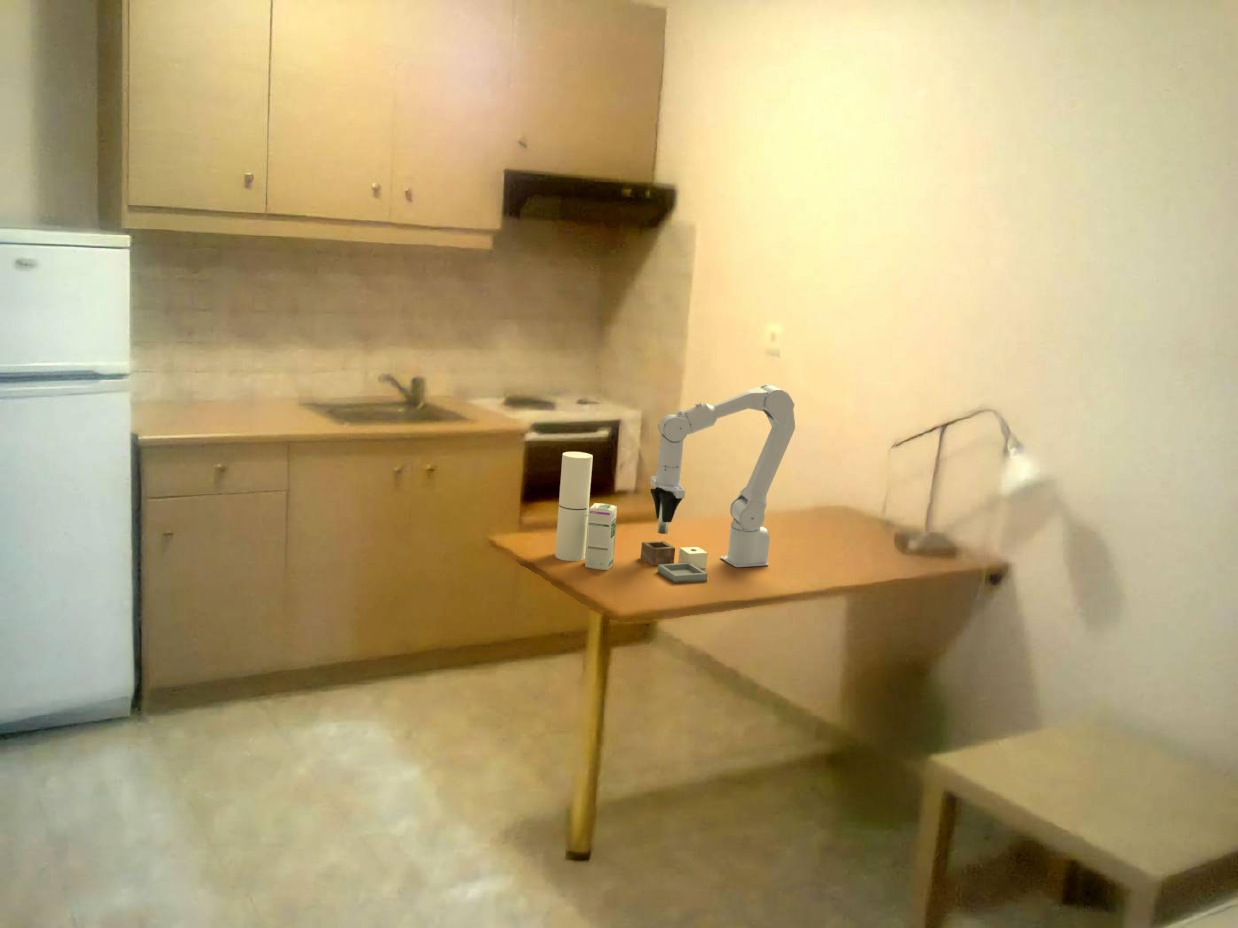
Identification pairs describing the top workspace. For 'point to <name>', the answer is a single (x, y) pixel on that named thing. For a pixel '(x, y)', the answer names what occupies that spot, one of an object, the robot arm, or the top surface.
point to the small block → (693, 556)
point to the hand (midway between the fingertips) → (663, 520)
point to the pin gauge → (662, 523)
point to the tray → (682, 572)
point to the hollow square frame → (657, 552)
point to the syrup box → (600, 536)
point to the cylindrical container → (573, 506)
